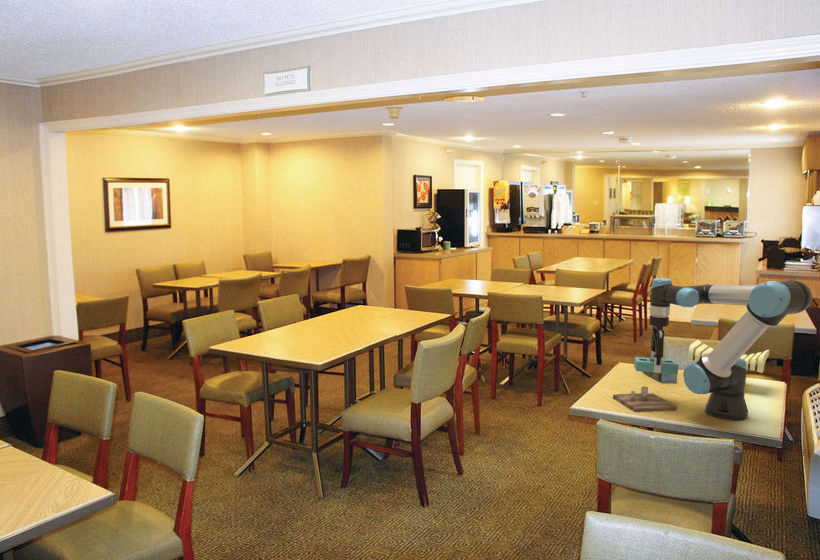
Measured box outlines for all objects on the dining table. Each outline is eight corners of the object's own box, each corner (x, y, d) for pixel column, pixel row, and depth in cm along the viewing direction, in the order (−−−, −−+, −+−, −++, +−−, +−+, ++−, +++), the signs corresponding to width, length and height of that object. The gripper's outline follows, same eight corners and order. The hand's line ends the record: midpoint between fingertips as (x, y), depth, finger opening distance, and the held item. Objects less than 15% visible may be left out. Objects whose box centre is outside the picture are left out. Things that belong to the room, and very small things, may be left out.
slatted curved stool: (686, 383, 292) (688, 345, 290) (695, 376, 305) (697, 339, 302) (759, 396, 274) (763, 356, 272) (766, 388, 287) (769, 349, 284)
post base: (676, 410, 255) (677, 393, 254) (634, 412, 252) (635, 394, 251) (652, 396, 273) (653, 380, 272) (612, 398, 270) (613, 381, 269)
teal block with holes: (674, 369, 267) (674, 359, 266) (677, 374, 259) (678, 364, 259) (633, 366, 270) (634, 356, 270) (636, 371, 263) (637, 361, 262)
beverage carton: (660, 384, 292) (661, 370, 291) (641, 372, 311) (642, 359, 310) (677, 383, 292) (678, 369, 292) (656, 372, 311) (657, 359, 311)
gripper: (646, 310, 272) (642, 362, 275) (653, 320, 252) (649, 375, 255) (664, 311, 271) (660, 363, 274) (673, 321, 251) (669, 377, 254)
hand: (655, 369), depth 265 cm, fingers closed on teal block with holes, 8 cm apart
